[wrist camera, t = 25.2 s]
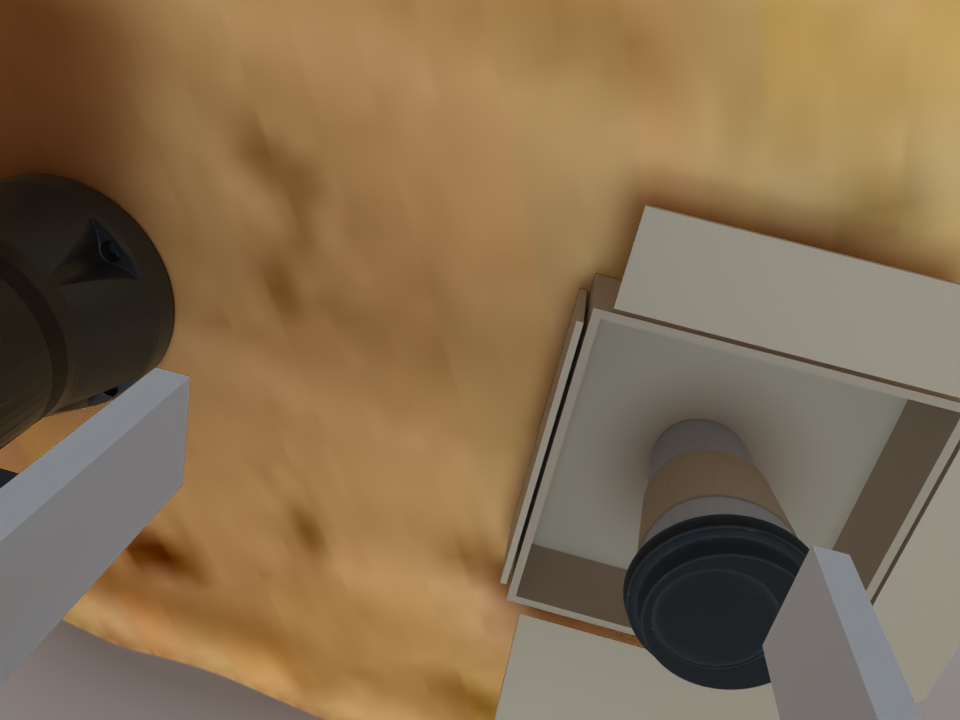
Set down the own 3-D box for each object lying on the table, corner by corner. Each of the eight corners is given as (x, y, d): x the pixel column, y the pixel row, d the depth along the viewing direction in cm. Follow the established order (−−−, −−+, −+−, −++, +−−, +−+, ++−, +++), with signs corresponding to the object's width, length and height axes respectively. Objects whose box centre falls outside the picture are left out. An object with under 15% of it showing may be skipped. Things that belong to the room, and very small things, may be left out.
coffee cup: (771, 522, 51) (829, 707, 38) (622, 521, 53) (626, 698, 39) (778, 389, 48) (846, 541, 34) (618, 393, 49) (621, 539, 36)
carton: (507, 539, 55) (496, 597, 50) (612, 174, 44) (612, 197, 39) (884, 643, 54) (915, 713, 49) (1087, 293, 43) (1155, 334, 38)
